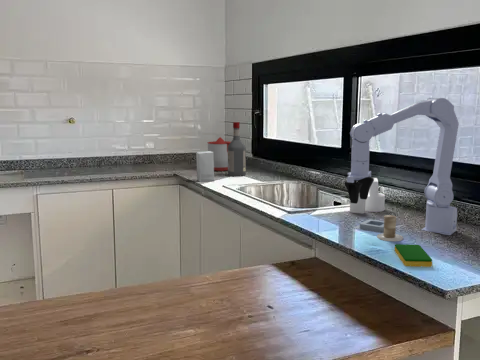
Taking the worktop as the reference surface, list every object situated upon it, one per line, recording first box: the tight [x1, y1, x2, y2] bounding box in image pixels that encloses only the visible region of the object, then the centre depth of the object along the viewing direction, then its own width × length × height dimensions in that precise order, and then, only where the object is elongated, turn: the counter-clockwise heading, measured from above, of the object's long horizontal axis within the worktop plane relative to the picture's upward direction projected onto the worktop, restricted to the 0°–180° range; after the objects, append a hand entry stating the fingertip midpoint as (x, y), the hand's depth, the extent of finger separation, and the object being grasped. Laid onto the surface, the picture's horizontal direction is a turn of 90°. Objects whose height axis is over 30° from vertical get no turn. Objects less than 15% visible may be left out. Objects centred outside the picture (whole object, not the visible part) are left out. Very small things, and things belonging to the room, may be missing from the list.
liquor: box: [227, 121, 247, 178], centre depth 284 cm, size 9×9×30 cm
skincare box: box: [195, 150, 215, 183], centre depth 269 cm, size 8×7×16 cm
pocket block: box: [353, 218, 398, 234], centre depth 172 cm, size 12×10×2 cm
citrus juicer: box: [207, 136, 231, 172], centre depth 306 cm, size 16×17×20 cm
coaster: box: [376, 233, 404, 242], centre depth 160 cm, size 8×8×1 cm
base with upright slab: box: [365, 177, 386, 213], centre depth 200 cm, size 9×9×12 cm
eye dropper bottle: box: [349, 193, 366, 214], centre depth 194 cm, size 4×6×12 cm
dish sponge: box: [394, 243, 433, 268], centre depth 142 cm, size 7×14×2 cm, turn 175°
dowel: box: [383, 214, 397, 238], centre depth 160 cm, size 4×4×6 cm
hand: (358, 201), depth 168 cm, fingers open, 7 cm apart
